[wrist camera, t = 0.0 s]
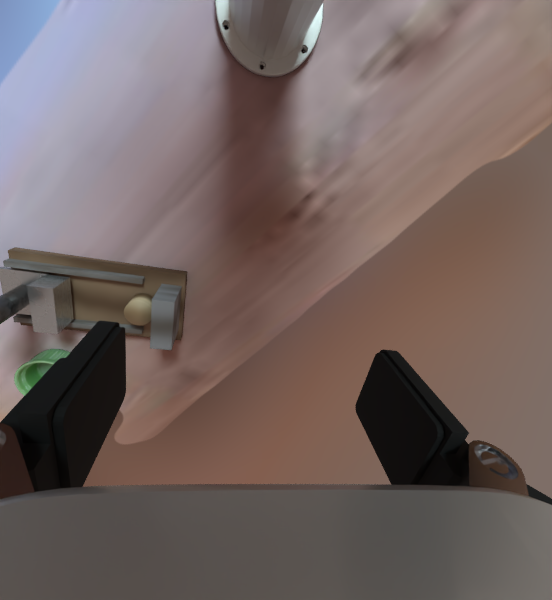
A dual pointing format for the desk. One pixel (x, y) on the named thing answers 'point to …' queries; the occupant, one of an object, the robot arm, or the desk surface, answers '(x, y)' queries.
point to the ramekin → (36, 369)
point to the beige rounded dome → (139, 309)
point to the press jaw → (36, 298)
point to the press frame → (112, 292)
